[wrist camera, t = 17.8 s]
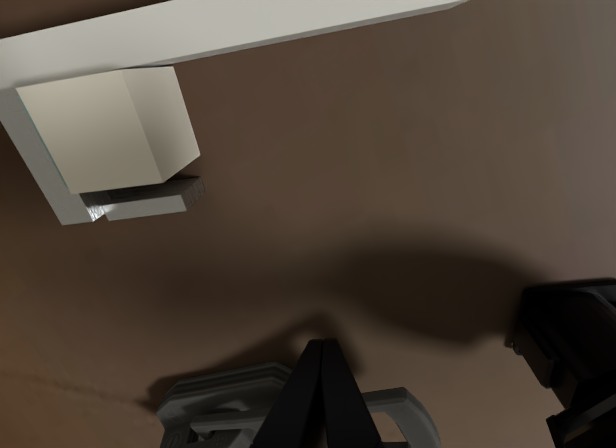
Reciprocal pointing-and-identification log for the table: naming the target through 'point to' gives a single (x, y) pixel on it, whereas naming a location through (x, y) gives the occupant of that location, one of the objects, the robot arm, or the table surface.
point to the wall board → (185, 34)
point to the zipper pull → (265, 409)
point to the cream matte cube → (113, 127)
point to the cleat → (97, 202)
